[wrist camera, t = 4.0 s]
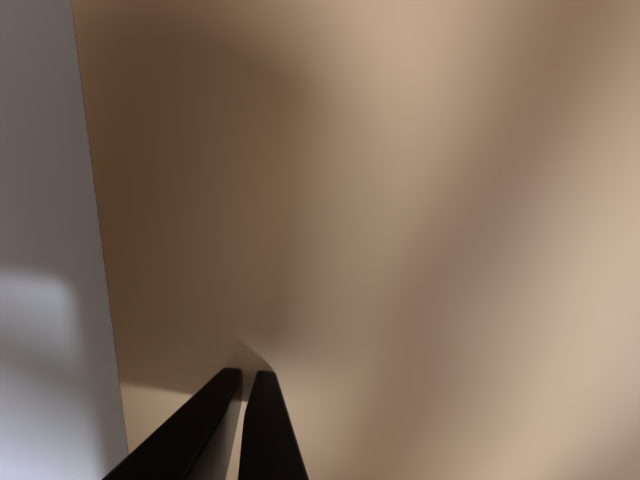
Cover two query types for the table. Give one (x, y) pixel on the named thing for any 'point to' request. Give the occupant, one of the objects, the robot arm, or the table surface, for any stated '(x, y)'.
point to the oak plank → (378, 224)
